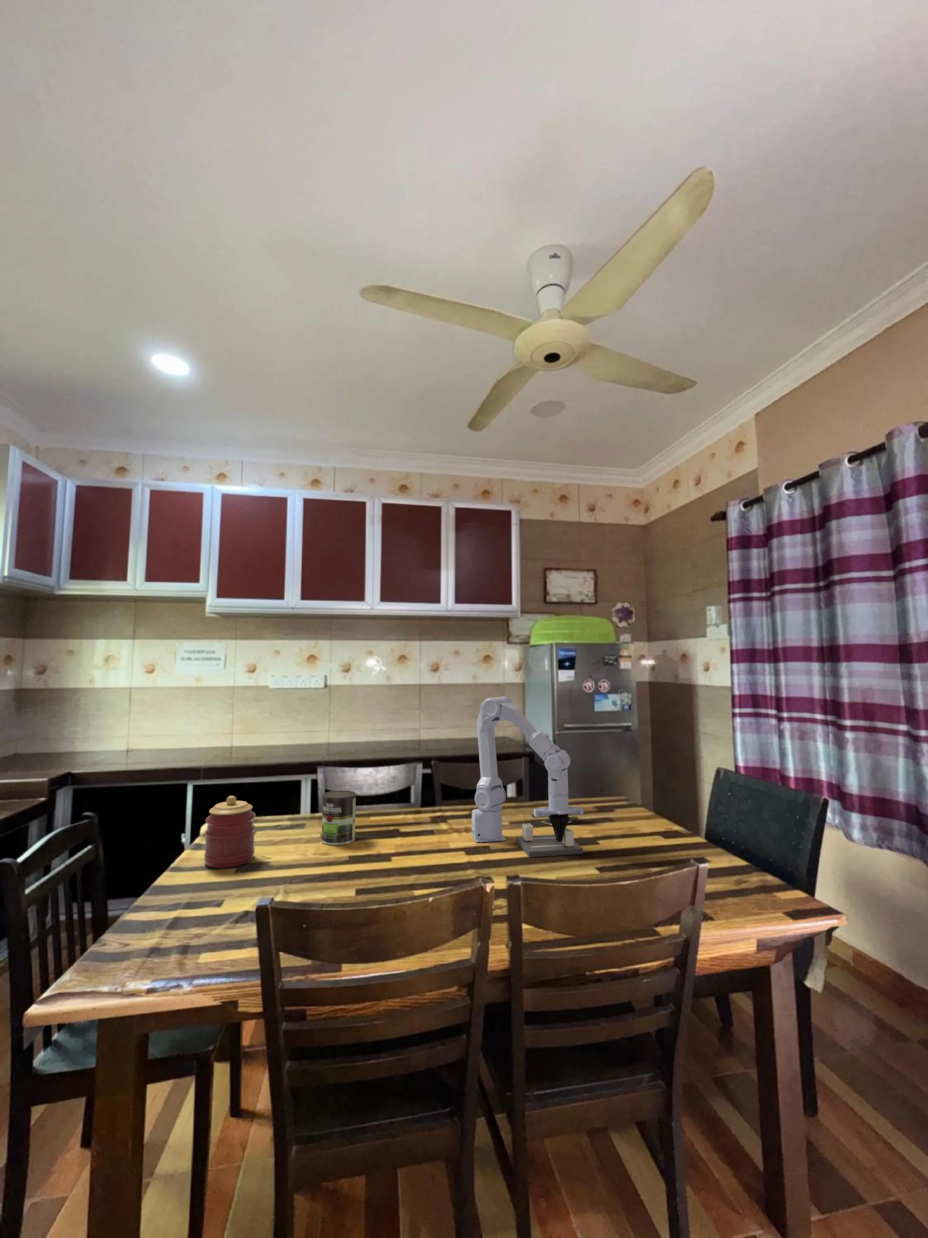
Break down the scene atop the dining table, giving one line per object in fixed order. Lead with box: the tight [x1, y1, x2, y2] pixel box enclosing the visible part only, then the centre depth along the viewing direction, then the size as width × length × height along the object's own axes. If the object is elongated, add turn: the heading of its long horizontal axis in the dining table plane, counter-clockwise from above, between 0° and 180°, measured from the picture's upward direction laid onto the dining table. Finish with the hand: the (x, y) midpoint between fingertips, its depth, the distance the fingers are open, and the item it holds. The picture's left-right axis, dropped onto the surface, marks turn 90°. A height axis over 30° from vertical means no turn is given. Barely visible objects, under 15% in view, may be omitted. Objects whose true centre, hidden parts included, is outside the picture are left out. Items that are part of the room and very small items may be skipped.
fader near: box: [562, 827, 575, 846], centre depth 162 cm, size 2×4×4 cm
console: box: [515, 833, 584, 858], centre depth 165 cm, size 16×14×2 cm
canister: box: [203, 795, 256, 869], centre depth 155 cm, size 13×13×18 cm
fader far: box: [521, 822, 534, 841], centre depth 168 cm, size 2×4×4 cm
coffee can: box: [321, 790, 357, 846], centre depth 173 cm, size 10×10×14 cm
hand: (559, 840), depth 162 cm, fingers closed
